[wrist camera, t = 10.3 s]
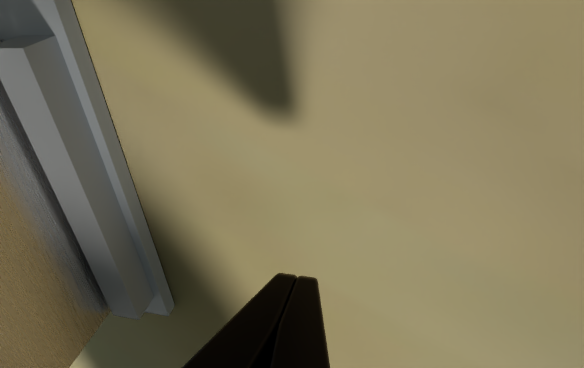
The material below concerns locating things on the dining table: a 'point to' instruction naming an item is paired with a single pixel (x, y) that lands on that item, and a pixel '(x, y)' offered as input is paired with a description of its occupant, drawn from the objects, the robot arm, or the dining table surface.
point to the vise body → (80, 151)
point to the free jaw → (39, 262)
